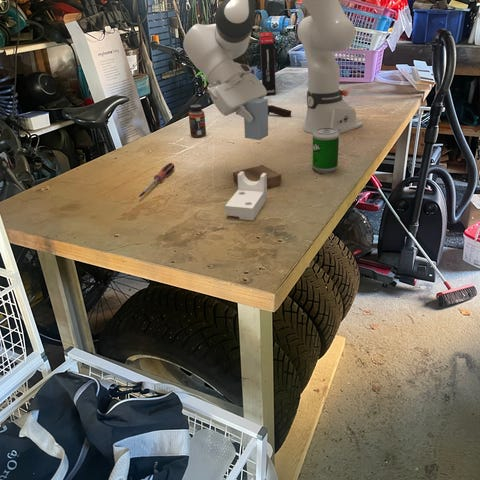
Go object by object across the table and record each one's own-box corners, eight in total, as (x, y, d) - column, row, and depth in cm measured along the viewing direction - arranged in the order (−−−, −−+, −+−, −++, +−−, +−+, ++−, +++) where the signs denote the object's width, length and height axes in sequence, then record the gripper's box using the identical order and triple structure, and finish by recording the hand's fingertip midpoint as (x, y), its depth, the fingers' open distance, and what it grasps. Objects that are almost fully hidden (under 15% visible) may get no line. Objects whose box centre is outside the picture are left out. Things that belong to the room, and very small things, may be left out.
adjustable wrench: (286, 129, 199) (233, 113, 206) (288, 127, 201) (235, 111, 208) (290, 109, 194) (235, 94, 202) (292, 107, 196) (238, 92, 204)
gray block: (253, 133, 136) (252, 97, 132) (268, 135, 134) (267, 99, 129) (244, 137, 133) (243, 101, 128) (259, 140, 131) (258, 103, 126)
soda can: (339, 166, 145) (341, 127, 139) (335, 175, 139) (337, 134, 133) (314, 164, 148) (315, 126, 142) (309, 173, 141) (310, 133, 136)
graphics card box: (276, 95, 232) (275, 35, 219) (262, 96, 232) (259, 36, 219) (274, 88, 247) (273, 31, 234) (261, 89, 247) (259, 32, 234)
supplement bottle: (204, 138, 178) (201, 107, 173) (188, 137, 179) (185, 107, 174) (208, 133, 183) (205, 103, 178) (193, 133, 185) (190, 103, 179)
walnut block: (262, 174, 143) (262, 164, 141) (280, 184, 135) (280, 174, 134) (233, 182, 139) (232, 172, 137) (250, 193, 131) (249, 183, 130)
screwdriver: (144, 202, 130) (143, 192, 129) (135, 202, 131) (133, 191, 130) (177, 169, 151) (175, 160, 150) (168, 169, 152) (167, 160, 150)
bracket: (242, 197, 130) (240, 171, 126) (267, 199, 127) (266, 173, 124) (225, 218, 119) (223, 190, 115) (253, 221, 117) (251, 193, 113)
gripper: (210, 77, 121) (245, 119, 121) (251, 64, 136) (282, 102, 136) (198, 94, 125) (231, 134, 125) (239, 79, 140) (268, 116, 140)
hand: (258, 117), depth 131 cm, fingers closed on gray block, 5 cm apart
